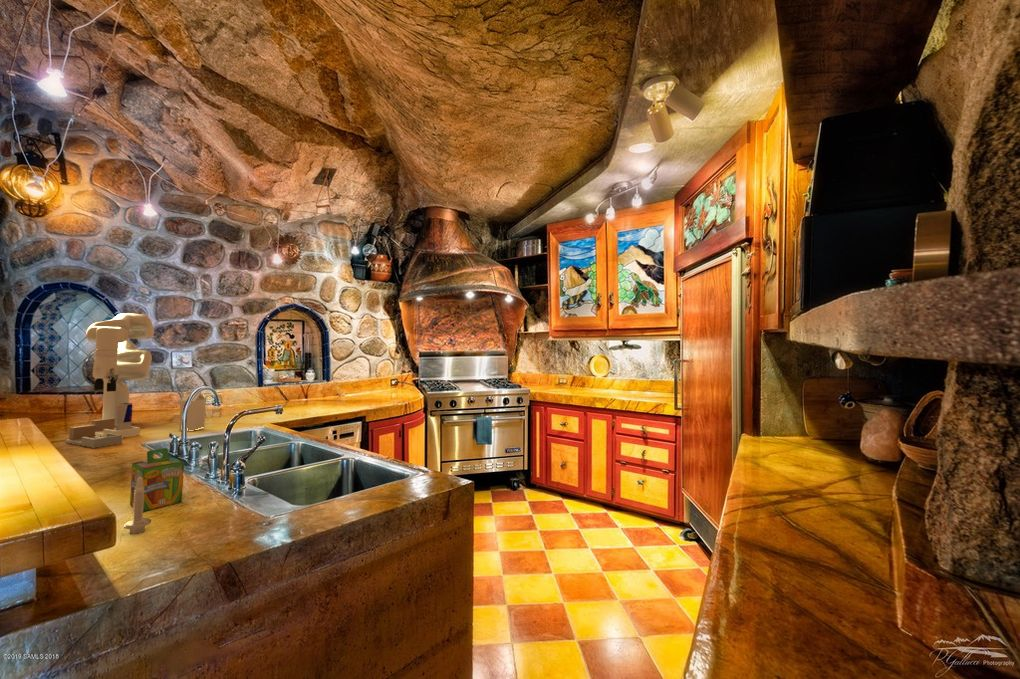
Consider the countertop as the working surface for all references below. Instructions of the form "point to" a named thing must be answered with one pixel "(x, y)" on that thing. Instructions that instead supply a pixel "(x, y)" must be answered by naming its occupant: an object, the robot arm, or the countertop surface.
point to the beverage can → (124, 416)
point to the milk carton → (194, 412)
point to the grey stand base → (91, 437)
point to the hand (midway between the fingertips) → (104, 390)
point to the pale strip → (120, 432)
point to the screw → (138, 510)
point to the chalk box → (158, 480)
